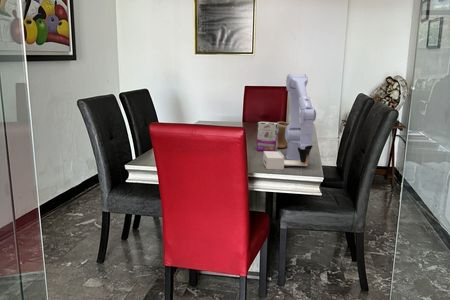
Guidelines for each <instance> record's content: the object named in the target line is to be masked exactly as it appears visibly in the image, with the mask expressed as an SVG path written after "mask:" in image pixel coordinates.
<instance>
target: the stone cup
mask: <svg viewBox="0 0 450 300" xmlns="http://www.w3.org/2000/svg"><path fill="white" fill-rule="evenodd" d="M276 123H279V128H278V146H277V149H278V148H279V149H284V148H286V147H287V146H288V141H286V139H285V129H286V127H287V126H288V125H289V124H290V123H288V122H285V121H277V122H276Z"/></svg>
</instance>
